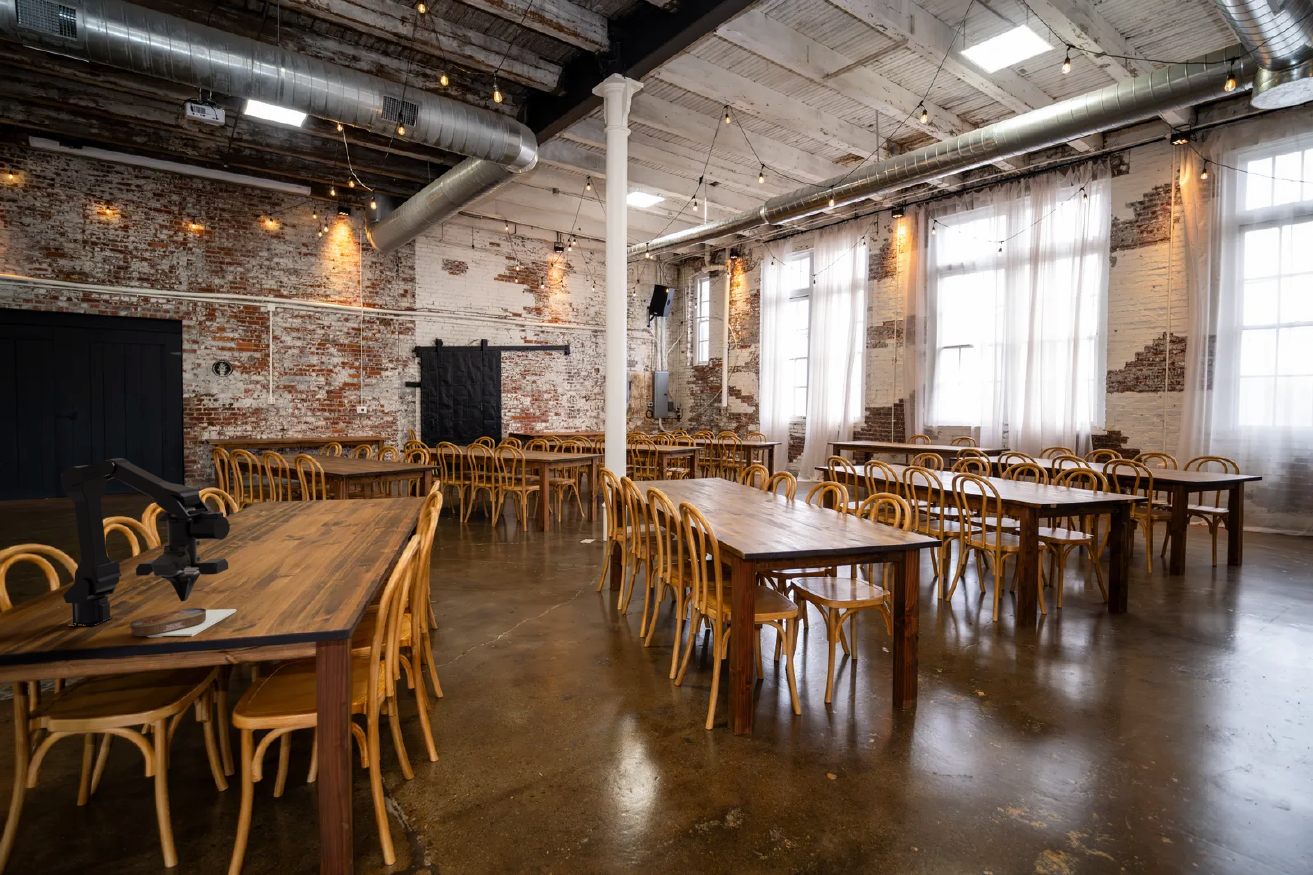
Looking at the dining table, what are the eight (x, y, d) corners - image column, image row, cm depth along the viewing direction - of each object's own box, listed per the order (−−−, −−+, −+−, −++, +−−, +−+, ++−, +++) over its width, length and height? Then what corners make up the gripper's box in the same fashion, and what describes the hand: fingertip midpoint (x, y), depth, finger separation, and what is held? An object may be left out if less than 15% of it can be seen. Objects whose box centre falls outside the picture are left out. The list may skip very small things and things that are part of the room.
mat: (147, 637, 153) (147, 635, 153) (196, 612, 172) (196, 610, 172) (192, 636, 154) (191, 634, 154) (236, 611, 173) (236, 609, 173)
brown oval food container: (200, 605, 167) (210, 610, 161) (201, 618, 167) (211, 623, 161) (126, 620, 155) (134, 626, 150) (126, 633, 155) (135, 639, 150)
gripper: (118, 546, 152) (120, 611, 153) (202, 545, 154) (204, 610, 155) (150, 537, 163) (152, 598, 164) (228, 536, 165) (230, 596, 166)
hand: (183, 600), depth 162 cm, fingers closed
